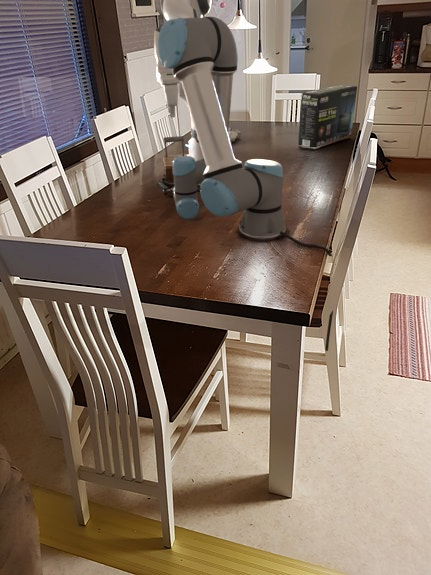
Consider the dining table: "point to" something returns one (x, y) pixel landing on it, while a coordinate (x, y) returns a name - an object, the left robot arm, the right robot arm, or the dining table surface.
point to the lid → (170, 158)
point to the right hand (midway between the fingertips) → (178, 176)
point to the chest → (169, 176)
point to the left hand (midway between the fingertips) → (171, 114)
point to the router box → (326, 115)
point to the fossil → (233, 134)
